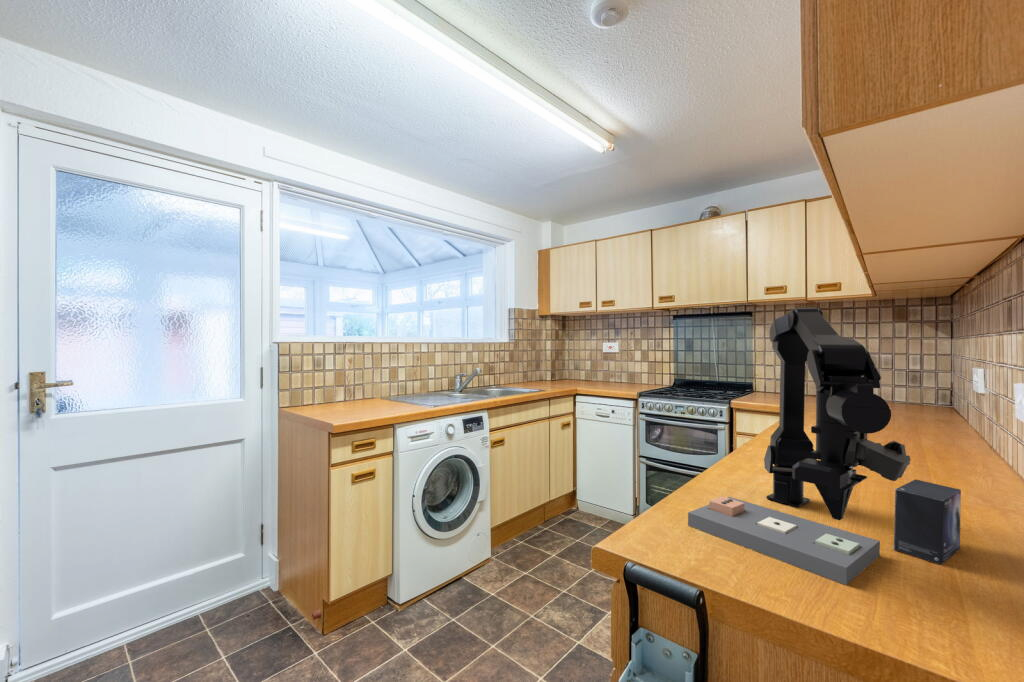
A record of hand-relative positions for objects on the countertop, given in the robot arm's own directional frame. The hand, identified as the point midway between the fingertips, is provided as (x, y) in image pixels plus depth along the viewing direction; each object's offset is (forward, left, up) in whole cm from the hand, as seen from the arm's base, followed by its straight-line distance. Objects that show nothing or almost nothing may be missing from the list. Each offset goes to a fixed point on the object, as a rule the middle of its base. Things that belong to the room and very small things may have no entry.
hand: (837, 519), depth 70 cm
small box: (-17, +7, -7) cm, 20 cm away
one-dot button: (0, -9, -6) cm, 11 cm away
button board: (0, -9, -7) cm, 11 cm away
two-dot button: (0, 0, -6) cm, 6 cm away
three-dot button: (0, -18, -5) cm, 19 cm away
